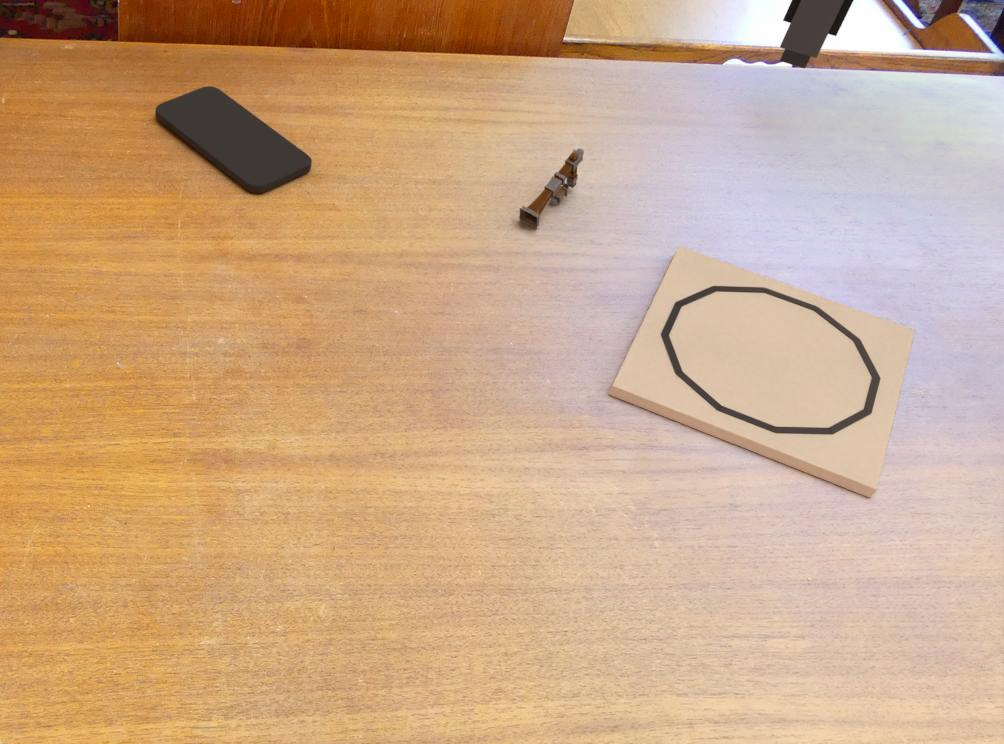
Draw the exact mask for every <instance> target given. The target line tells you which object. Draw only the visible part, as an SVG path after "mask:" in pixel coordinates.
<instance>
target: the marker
mask: <svg viewBox="0 0 1004 744" xmlns="http://www.w3.org/2000/svg"><path fill="white" fill-rule="evenodd" d="M843 2H844V0H801V1H800V3H799V6H798V8H797V10H796V12H795V15H794V17H793V19H792V21H791V23H790V24H789V26H788V28H787V30H786V33H784V37H783V39H782V41H781V43H780V45H779V48H781V49H784V50H783V52H782V55H781V57H780V59H779V61H780V62H782V63H785V64H789V65H792V66H795V67H799V68H801V69H806V68H807V65H808V63H809V61H810V59H811V58H813V59H817V58H818V56H819V54H820V53H821V52H820V51H821V50H822V48H823V45H824V43H825V41H826V39H827V37H828V35H829V34H828V33H829V31H830V29H831V27H832V25H833V23H834V21H835V19H836V16H837V14H838V12H839V10H840V8H841V6H842V4H843Z"/></svg>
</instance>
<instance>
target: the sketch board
mask: <svg viewBox="0 0 1004 744" xmlns="http://www.w3.org/2000/svg"><path fill="white" fill-rule="evenodd" d="M915 333H916V330H915V329H913V328H910V327H908V326H905V325H902V324H899V323H896V322H894V321H891V320H888V319H886V318H882V317H880V316H876V315H874V314H872V313H869V312H865V311H863V310H860V309H857V308H855V307H851V306H849V305H847V304H844V303H841V302H837V301H835V300H832V299H829V298H827V297H823V296H821V295H818V294H816V293H813V292H810V291H807V290H804V289H801V288H799V287H796V286H793V285H790V284H787V283H784V282H781V281H779V280H776V279H773V278H771V277H768V276H766V275H762V274H759V273H757V272H754V271H751V270H749V269H746V268H743V267H740V266H737V265H734V264H732V263H729V262H726V261H723V260H720V259H717V258H715V257H712V256H709V255H706V254H704V253H701V252H698V251H695V250H693V249H691V248H687V247H684V246H681V245H678V247H677V249H676V250H675V253H674V256H673V257H672V259H671V261H670V263H669V265H668V268H667V269H666V272H665V274H664V276H663V277H662V280H661V282H660V284H659V287H658V288H657V290H656V292H655V295H654V297H653V299H652V301H651V303H650V306H649V307H648V309H647V311H646V314H645V315H644V318H643V319H642V322H641V324H640V326H639V327H638V330H637V332H636V334H635V337H634V339H633V341H632V343H631V344H630V347H629V349H628V350H627V353H626V355H625V357H624V360H623V362H622V363H621V366H620V368H619V370H618V372H617V374H616V376H615V378H614V380H613V382H612V385H611V386H610V389H609V391H608V396H611V397H614V398H616V399H619V400H621V401H623V402H627V403H630V404H632V405H634V406H637V407H639V408H641V409H644V410H646V411H649V412H652V413H653V414H654V413H655V414H657V415H659V416H661V417H665V418H667V419H669V420H672V421H675V422H677V423H679V424H682V425H684V426H687V427H690V428H692V429H695V430H696V431H697V430H698V431H699V432H702V433H705V434H707V435H710V436H712V437H715V438H717V439H720V440H722V441H725V442H727V443H730V444H733V445H735V446H737V447H741V448H742V449H745V450H747V451H750V452H752V453H755V454H758V455H761V456H763V457H766V458H768V459H770V460H773V461H776V462H778V463H781V464H783V465H786V466H788V467H790V468H793V469H796V470H798V471H801V472H803V473H806V474H808V475H811V476H813V477H815V478H818V479H821V480H824V481H827V482H828V483H831V484H833V485H837V486H838V487H841V488H844V489H846V490H849V491H852V492H854V493H857V494H859V495H861V496H864V497H867V498H869V499H871V498H872V497H873V496H874V495H875V493H876V492H877V491H878V488H879V485H880V484H879V483H880V481H881V477H882V476H881V475H882V471H883V466H884V463H885V458H886V454H887V450H888V447H889V441H890V437H891V434H892V429H893V426H894V421H895V417H896V412H897V409H898V404H899V401H900V400H899V399H900V397H901V396H900V395H901V392H902V388H903V384H904V379H905V374H906V371H907V366H908V362H909V358H910V354H911V351H912V345H913V340H914V338H915Z"/></svg>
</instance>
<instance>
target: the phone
mask: <svg viewBox="0 0 1004 744" xmlns="http://www.w3.org/2000/svg"><path fill="white" fill-rule="evenodd" d="M155 118H156V120H158V122H160V123H161V124H163V126H165V127H167V128H168V129H169V130H170V131H171V132H173V133H174V134H175V135H177V136H178V137H179V138H180V139H182V140H183V141H184V142H186V143H187V144H188V145H190V147H192V148H193V149H194V150H196V151H197V152H199V153H200V154H201V155H202V156H203V157H205V158H206V159H207V160H208V161H210V162H211V163H212V164H213V165H215V166H216V168H218V169H220V170H221V171H222V172H223V173H225V174H226V175H227V176H228V177H230V178H231V179H232V180H234V181H235V182H236V183H238V184H239V185H240V186H241V187H242V188H244V189H245V190H247V191H249V192H251V193H255V194H261V193H264V192H267V191H269V190H272V189H274V188H276V187H278V186H281V185H283V184H284V183H287V182H289V181H291V180H293V179H295V178H298V177H300V176H302V175H305V174H306V173H308V172H310V170H311V169H312V163H313V161H312V158H311V157H310V155H308V154H307V153H306V152H305V151H304V150H302V149H300V148H299V147H298V146H297V145H295V144H294V143H292V142H291V141H290V140H289V139H287V138H286V137H285V136H283V135H282V134H280V133H279V132H278V131H277V130H275V129H274V128H272V127H271V126H269V125H268V124H267V123H265V122H264V121H263V120H261V119H260V118H259V117H257V116H256V115H255V114H253V112H251V111H250V110H248V109H246V108H245V107H244V106H243V105H241V104H240V103H239V102H238V101H236V100H235V99H234V98H232V97H231V96H229V95H228V94H227V93H225V92H224V91H222V90H221V89H220V88H218V87H216V86H210V85H208V86H203V87H200V88H197V89H194V90H191V91H190V92H187V93H184V94H182V95H179V96H177V97H174V98H171V99H169V100H166V101H164V102H161V103H159V104H157V105H156V107H155Z"/></svg>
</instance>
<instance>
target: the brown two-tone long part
mask: <svg viewBox="0 0 1004 744" xmlns="http://www.w3.org/2000/svg"><path fill="white" fill-rule="evenodd" d="M584 153H585V150H584V149H583V148H582V147H581V148H580V147H579V148H577V149H575V148H574V149H573V150H572V152H571V153H570V154H569V156H568V157H567V158H566V159H565V160H564V164H563V165H562V167H561V168H560V169H559V170H558V171H555V172H554V173H553V175H552V176H551V178H550V180H549V181H548V182H547V183H546V184H545V186H544V187H543V190H542V192H541V193H540V194H539V195H538V196H537V197H536V198H535V199H534V200H533V201H532V202H531V203H530V204H529V205H527V206H525V205H522V206H521V207H519V216H518V218H519V219H518V220H519V221H520V222H521V223H524V224H525V225H527V226H529V227H531V228H533V229H535V230H537V229H538V227H539V226H540V216H541V215H542V213H543V212H544V209H545V208H546V206H547V204H548V203H549V202H550V204H551V205H552V206H556V204H558V205H561V202H562V200H563V199H564V198H565V197H566V198H567V197H568V192H569V188H572V189H574V188H575V186H576V185H577V181H578V178H579V175H578V166H579V165H580V163H581V162H583V159H584Z"/></svg>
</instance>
